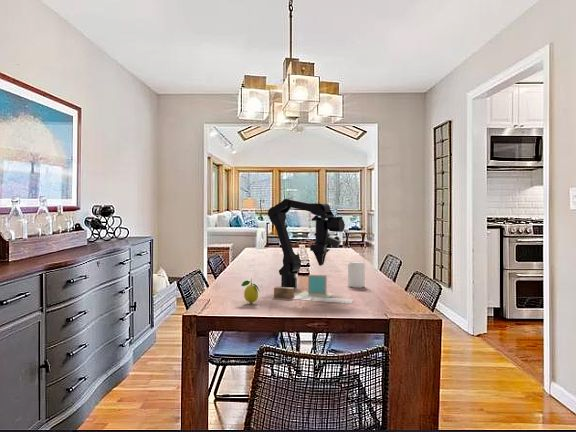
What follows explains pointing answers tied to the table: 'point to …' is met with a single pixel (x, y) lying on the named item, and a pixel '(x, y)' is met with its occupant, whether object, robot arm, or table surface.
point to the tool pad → (333, 300)
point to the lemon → (250, 292)
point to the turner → (288, 294)
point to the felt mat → (314, 294)
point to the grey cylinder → (356, 274)
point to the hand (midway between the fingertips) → (321, 265)
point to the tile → (317, 284)
